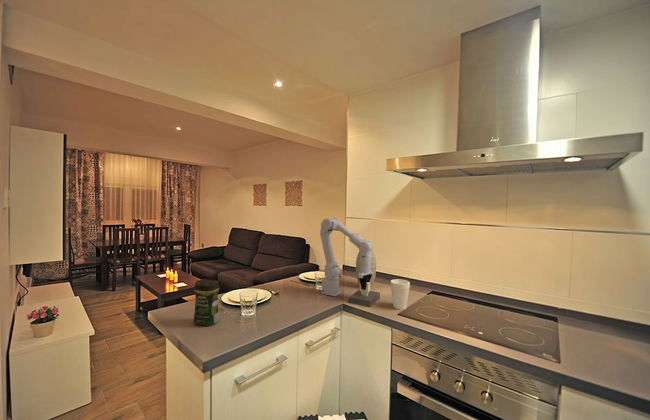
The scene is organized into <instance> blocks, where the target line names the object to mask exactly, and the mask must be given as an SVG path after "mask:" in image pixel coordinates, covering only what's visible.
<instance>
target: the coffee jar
mask: <svg viewBox="0 0 650 420" xmlns="http://www.w3.org/2000/svg"><path fill="white" fill-rule="evenodd" d="M219 283H220V281H219V280H212V279H205V278H202V279H199V280H196V281H195V283H194V289H193V291H194V294H195V304H194V305H195V306H194V314H193V315H194V316H193V323H194V324H195V325H197V326H201V327H209V326H213V325H215V324H217V323H218V322H219V319H220V316H219V315H220V313H219V300H218V297H219V291H220V284H219Z"/></svg>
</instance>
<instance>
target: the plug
mask: <svg viewBox="0 0 650 420" xmlns="http://www.w3.org/2000/svg"><path fill="white" fill-rule="evenodd" d="M359 289H360V291H361V295H363V296H368V292H370V291H371V288H370V282H367V284H366V289H365V290H363V289H361V284H360V285H359Z"/></svg>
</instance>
